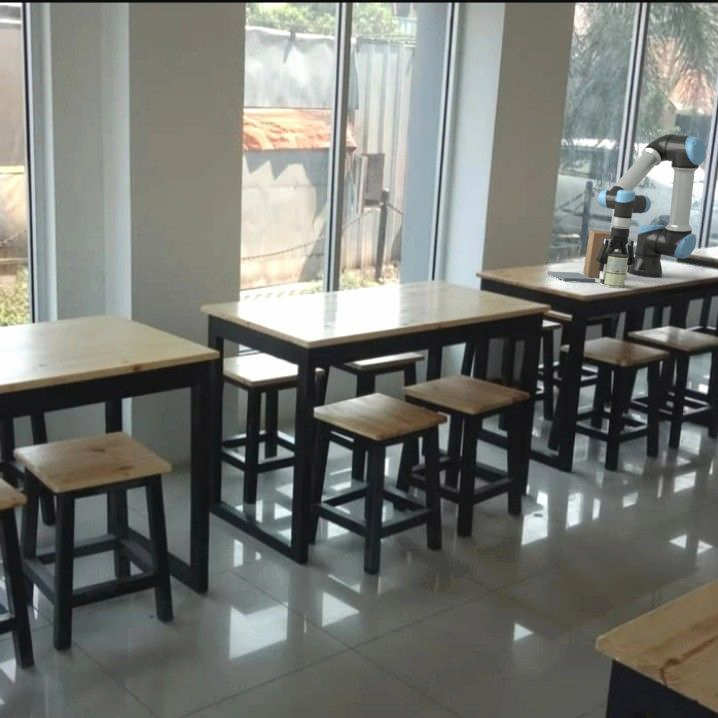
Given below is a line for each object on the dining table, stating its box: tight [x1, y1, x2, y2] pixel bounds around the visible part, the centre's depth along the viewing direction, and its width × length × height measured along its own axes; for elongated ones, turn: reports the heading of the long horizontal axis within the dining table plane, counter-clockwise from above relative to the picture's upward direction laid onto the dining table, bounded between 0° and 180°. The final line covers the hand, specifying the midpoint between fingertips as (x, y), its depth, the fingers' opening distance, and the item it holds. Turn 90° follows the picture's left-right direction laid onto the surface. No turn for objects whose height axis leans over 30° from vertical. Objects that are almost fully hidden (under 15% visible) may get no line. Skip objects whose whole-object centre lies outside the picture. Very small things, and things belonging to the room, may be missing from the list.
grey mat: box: [546, 271, 596, 284], centre depth 452 cm, size 15×15×2 cm
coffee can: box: [599, 250, 629, 289], centre depth 442 cm, size 10×10×14 cm
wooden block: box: [582, 229, 611, 279], centre depth 462 cm, size 10×10×20 cm
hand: (612, 279), depth 443 cm, fingers open, 10 cm apart
